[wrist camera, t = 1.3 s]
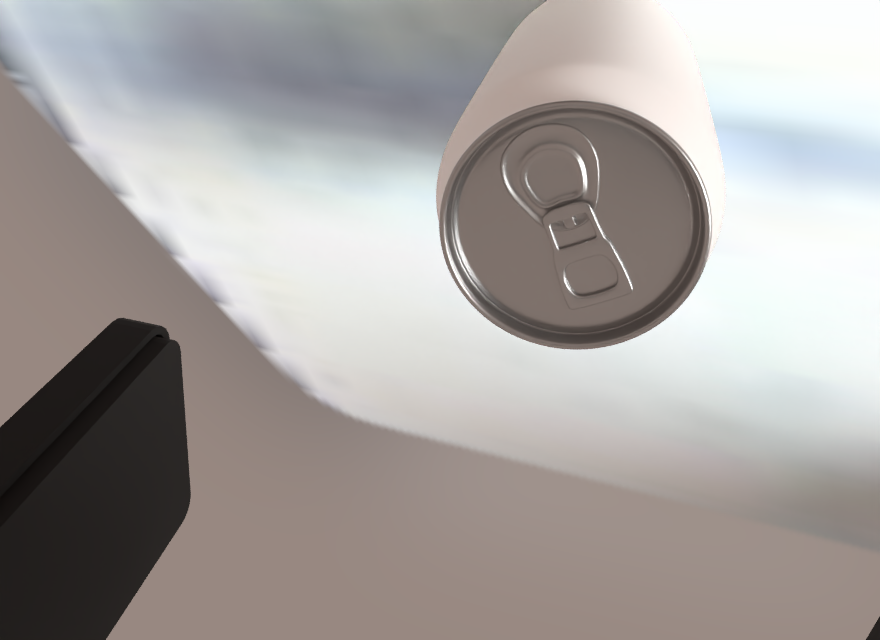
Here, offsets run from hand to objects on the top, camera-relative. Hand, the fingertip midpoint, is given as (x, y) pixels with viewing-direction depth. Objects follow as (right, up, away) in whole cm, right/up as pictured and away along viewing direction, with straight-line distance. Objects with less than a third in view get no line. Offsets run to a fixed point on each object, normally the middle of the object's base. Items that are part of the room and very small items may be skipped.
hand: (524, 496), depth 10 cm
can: (+4, +10, +17) cm, 20 cm away
